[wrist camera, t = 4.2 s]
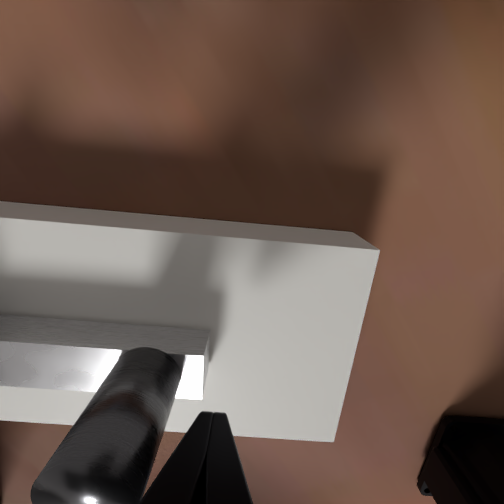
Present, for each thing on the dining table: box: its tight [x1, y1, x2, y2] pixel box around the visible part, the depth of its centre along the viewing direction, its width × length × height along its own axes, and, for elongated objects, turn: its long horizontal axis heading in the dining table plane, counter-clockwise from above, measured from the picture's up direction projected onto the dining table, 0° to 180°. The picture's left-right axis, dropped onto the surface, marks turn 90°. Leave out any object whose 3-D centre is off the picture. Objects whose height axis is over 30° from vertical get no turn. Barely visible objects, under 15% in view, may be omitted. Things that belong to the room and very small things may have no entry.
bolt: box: [0, 314, 210, 504], centre depth 9 cm, size 10×2×6 cm, turn 85°
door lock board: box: [0, 201, 380, 442], centre depth 11 cm, size 24×10×6 cm, turn 85°
